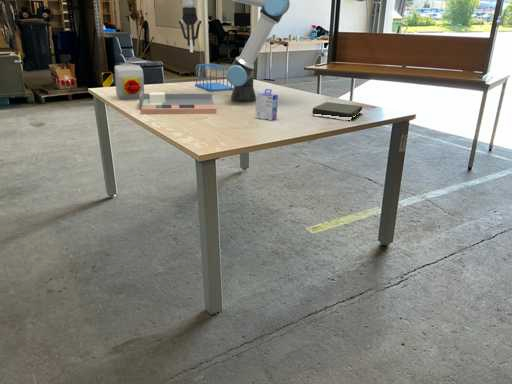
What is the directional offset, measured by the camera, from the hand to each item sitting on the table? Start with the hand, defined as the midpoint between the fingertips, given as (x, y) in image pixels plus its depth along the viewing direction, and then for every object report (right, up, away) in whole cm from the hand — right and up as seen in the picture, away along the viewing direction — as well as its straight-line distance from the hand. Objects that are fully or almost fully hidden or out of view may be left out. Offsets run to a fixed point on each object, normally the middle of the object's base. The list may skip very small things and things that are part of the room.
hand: (191, 52), depth 245 cm
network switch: (+80, -39, -15) cm, 90 cm away
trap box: (-5, -34, -11) cm, 36 cm away
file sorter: (+7, -8, +55) cm, 56 cm away
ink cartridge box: (+42, -43, -28) cm, 66 cm away
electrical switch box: (-37, -25, +10) cm, 46 cm away
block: (-17, -30, -8) cm, 36 cm away
